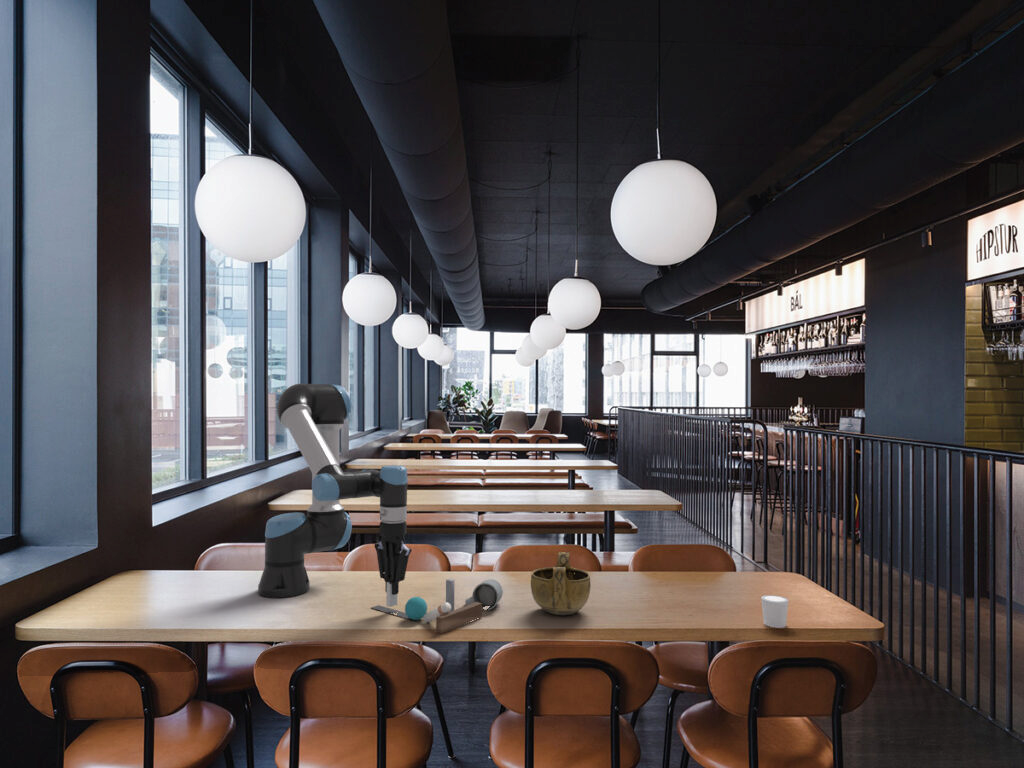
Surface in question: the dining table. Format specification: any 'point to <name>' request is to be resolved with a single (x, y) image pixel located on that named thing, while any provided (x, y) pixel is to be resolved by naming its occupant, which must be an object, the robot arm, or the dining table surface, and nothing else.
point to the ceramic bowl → (560, 587)
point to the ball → (415, 608)
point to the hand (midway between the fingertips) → (391, 605)
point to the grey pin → (450, 592)
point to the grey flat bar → (391, 611)
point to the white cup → (774, 610)
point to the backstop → (458, 617)
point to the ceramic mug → (486, 594)
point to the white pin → (437, 612)
